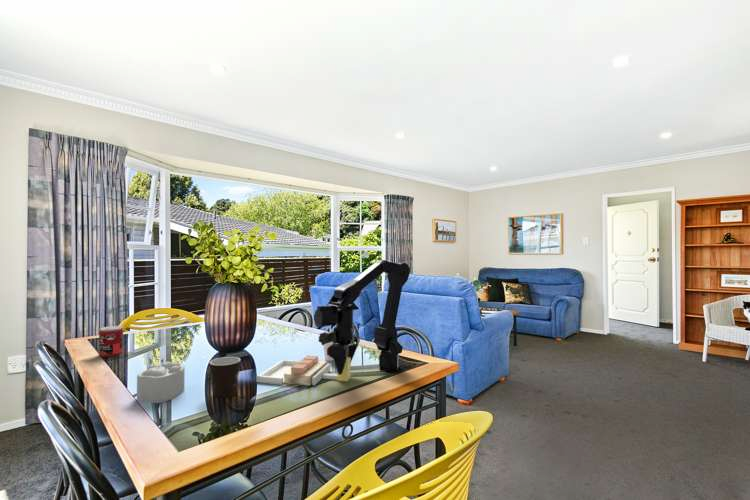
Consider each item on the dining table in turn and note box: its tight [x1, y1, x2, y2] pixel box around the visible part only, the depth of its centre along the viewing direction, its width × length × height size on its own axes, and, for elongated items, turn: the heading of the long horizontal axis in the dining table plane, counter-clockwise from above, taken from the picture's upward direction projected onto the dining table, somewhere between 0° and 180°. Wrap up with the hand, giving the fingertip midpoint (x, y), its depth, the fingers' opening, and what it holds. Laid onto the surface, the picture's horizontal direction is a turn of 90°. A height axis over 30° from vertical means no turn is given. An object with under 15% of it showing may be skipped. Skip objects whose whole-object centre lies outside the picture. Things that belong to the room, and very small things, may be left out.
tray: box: [256, 359, 300, 386], centre depth 128 cm, size 9×19×2 cm, turn 168°
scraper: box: [311, 357, 352, 386], centre depth 124 cm, size 10×15×7 cm
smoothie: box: [323, 326, 338, 362], centre depth 145 cm, size 6×6×14 cm
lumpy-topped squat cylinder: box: [136, 361, 186, 404], centre depth 110 cm, size 10×13×9 cm
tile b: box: [297, 359, 313, 369], centre depth 126 cm, size 4×4×2 cm
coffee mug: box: [209, 356, 241, 399], centre depth 111 cm, size 12×9×10 cm
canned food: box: [98, 325, 124, 358], centre depth 150 cm, size 8×8×11 cm
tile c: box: [291, 364, 307, 374], centre depth 121 cm, size 4×4×2 cm
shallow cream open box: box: [283, 360, 328, 386], centre depth 126 cm, size 9×16×3 cm, turn 168°
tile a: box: [303, 354, 319, 365], centre depth 131 cm, size 4×4×2 cm
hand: (344, 369), depth 123 cm, fingers open, 9 cm apart
